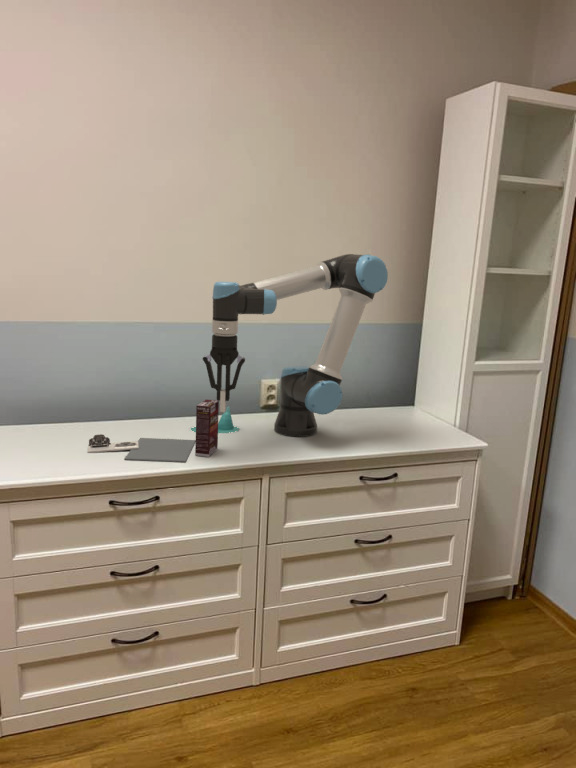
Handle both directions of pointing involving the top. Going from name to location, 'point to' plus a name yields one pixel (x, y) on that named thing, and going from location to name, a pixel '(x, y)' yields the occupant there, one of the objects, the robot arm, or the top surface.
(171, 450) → the mat
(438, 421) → the top surface
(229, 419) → the diorama
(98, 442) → the car cutout
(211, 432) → the supplement box
